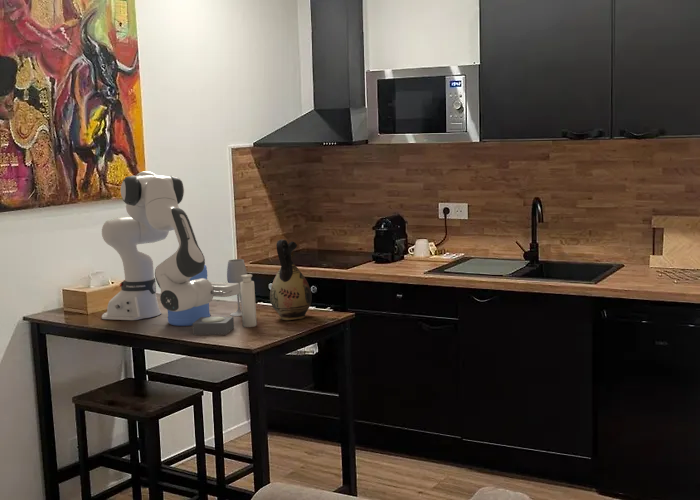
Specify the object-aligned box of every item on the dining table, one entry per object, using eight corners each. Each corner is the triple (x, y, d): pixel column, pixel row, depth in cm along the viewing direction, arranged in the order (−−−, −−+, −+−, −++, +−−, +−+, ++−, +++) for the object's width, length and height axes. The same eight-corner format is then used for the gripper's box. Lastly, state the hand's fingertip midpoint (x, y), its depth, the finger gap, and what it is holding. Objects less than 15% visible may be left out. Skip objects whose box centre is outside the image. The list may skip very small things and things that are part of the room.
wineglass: (251, 311, 345) (247, 258, 342) (246, 316, 338) (243, 261, 335) (231, 312, 346) (228, 259, 343) (227, 316, 339) (223, 262, 336)
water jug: (202, 326, 324) (197, 250, 320) (161, 326, 326) (156, 251, 322) (215, 317, 339) (211, 244, 335) (176, 317, 341) (171, 245, 337)
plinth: (193, 334, 312) (192, 322, 311) (201, 327, 322) (201, 316, 321) (226, 334, 310) (225, 322, 309) (234, 327, 320) (233, 315, 319)
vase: (241, 327, 320) (238, 276, 317) (244, 324, 325) (241, 274, 322) (254, 327, 319) (251, 276, 317) (258, 323, 324) (255, 273, 321)
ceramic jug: (282, 312, 342) (277, 235, 337) (319, 314, 336) (315, 235, 332) (262, 322, 326) (257, 241, 322) (300, 324, 320) (296, 242, 316)
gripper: (224, 283, 292) (249, 276, 303) (176, 281, 302) (202, 274, 314) (225, 302, 292) (250, 295, 304) (178, 299, 303) (204, 292, 314)
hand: (226, 284), depth 309 cm, fingers open, 8 cm apart
